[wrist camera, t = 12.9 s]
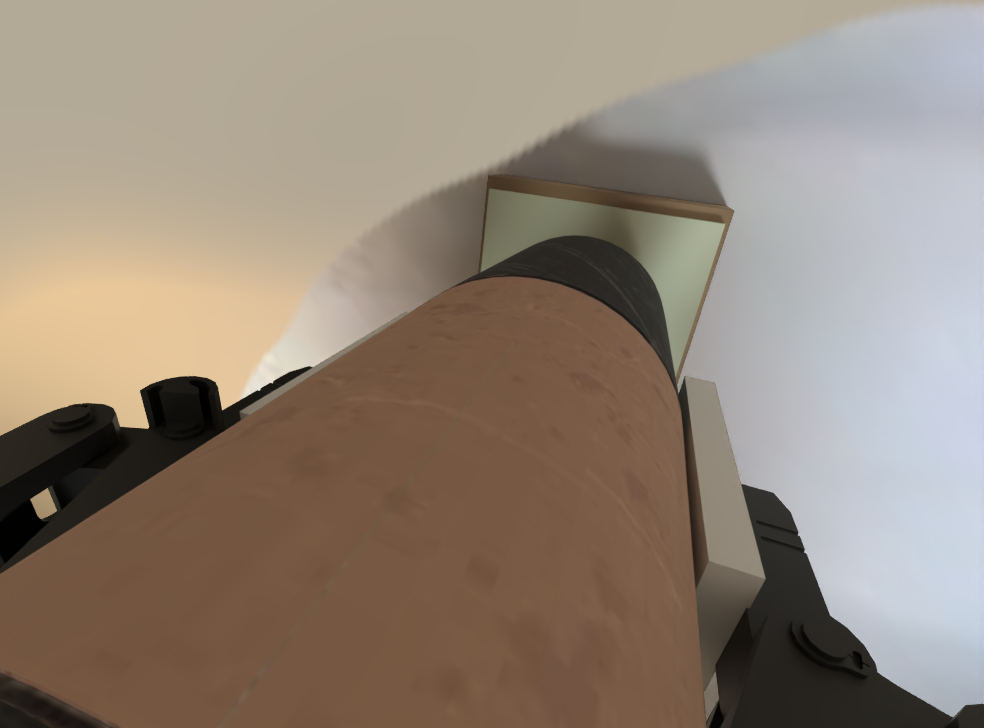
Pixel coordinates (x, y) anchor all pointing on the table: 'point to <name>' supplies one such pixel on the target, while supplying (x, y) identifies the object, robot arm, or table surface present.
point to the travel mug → (400, 536)
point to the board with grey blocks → (616, 237)
